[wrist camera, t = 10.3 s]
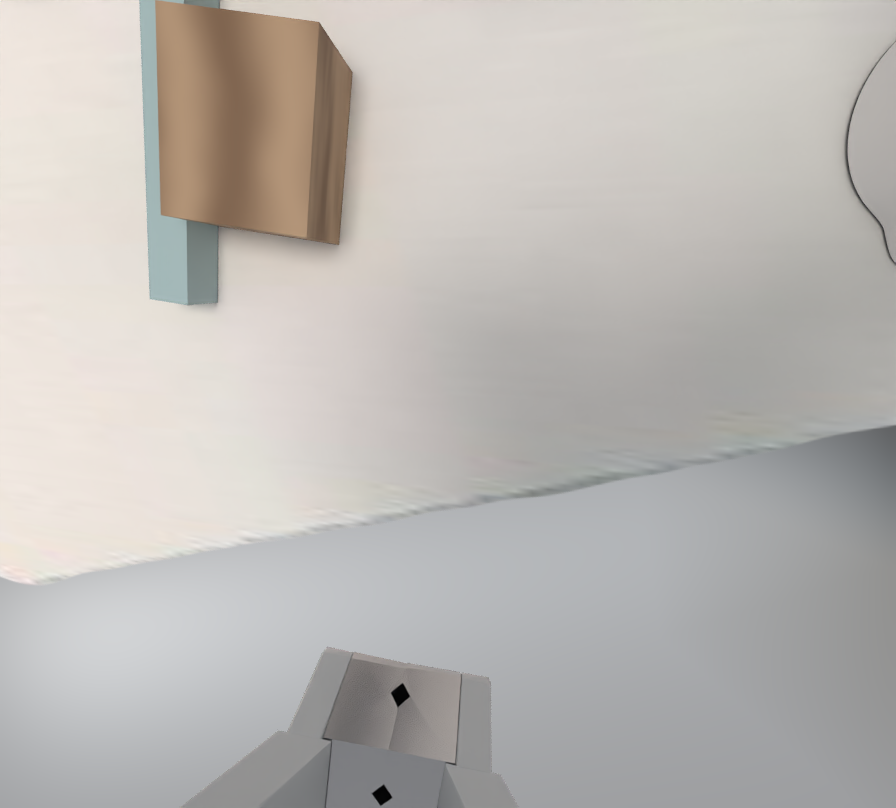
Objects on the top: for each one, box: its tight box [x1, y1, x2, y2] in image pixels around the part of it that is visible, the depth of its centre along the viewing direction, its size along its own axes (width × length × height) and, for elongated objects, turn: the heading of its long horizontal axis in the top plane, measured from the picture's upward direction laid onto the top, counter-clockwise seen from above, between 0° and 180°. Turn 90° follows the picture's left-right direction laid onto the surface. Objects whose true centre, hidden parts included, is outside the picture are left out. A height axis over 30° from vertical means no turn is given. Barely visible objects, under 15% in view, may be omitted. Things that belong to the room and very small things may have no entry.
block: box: [155, 0, 352, 245], centre depth 32 cm, size 10×12×7 cm
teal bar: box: [139, 0, 219, 305], centre depth 33 cm, size 3×26×4 cm, turn 172°
